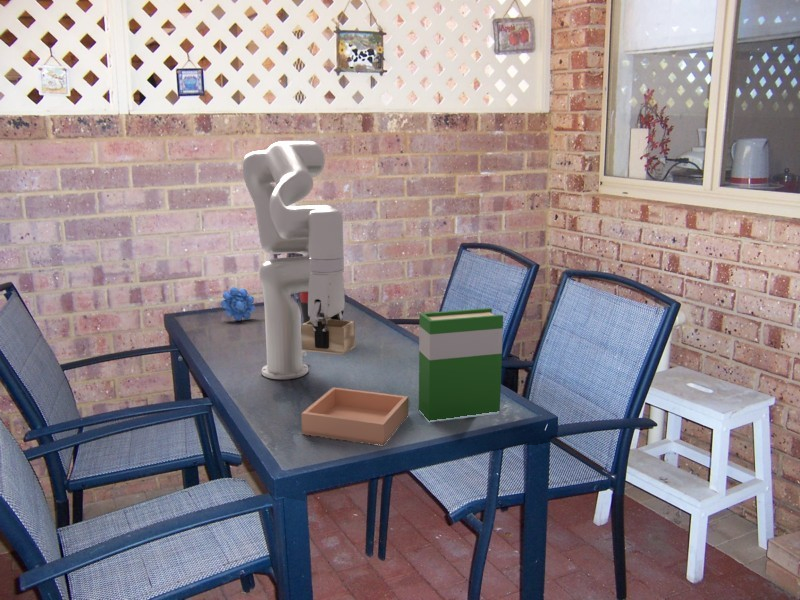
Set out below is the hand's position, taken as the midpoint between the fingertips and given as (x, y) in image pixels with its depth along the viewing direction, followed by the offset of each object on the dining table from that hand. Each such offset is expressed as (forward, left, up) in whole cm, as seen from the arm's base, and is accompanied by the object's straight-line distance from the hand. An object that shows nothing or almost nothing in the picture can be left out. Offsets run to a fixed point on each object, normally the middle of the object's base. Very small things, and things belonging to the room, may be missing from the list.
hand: (329, 343), depth 166 cm
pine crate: (0, 0, -1) cm, 1 cm away
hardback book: (-14, +27, -19) cm, 36 cm away
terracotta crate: (+1, +7, -18) cm, 20 cm away
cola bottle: (-56, -30, -19) cm, 66 cm away
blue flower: (-68, -64, -19) cm, 95 cm away
